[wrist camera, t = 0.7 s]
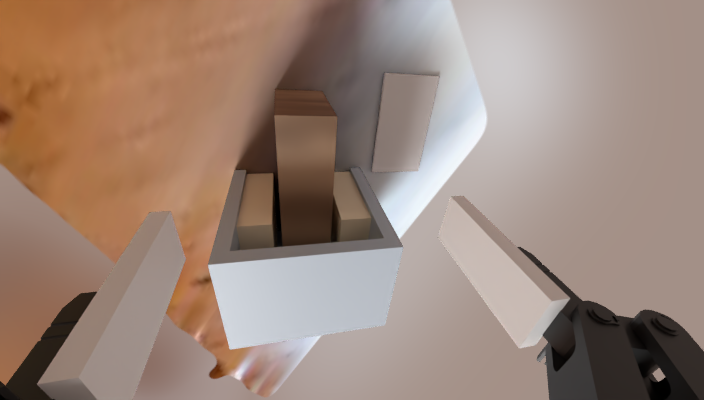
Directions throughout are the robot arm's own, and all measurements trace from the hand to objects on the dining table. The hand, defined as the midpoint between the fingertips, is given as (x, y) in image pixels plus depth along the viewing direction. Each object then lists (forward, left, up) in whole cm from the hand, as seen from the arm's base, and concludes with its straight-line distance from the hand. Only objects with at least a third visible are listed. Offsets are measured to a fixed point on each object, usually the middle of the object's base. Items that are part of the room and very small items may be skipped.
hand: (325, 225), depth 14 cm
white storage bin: (+11, 0, -18) cm, 21 cm away
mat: (+1, +11, -18) cm, 22 cm away
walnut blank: (+4, 0, -19) cm, 19 cm away
